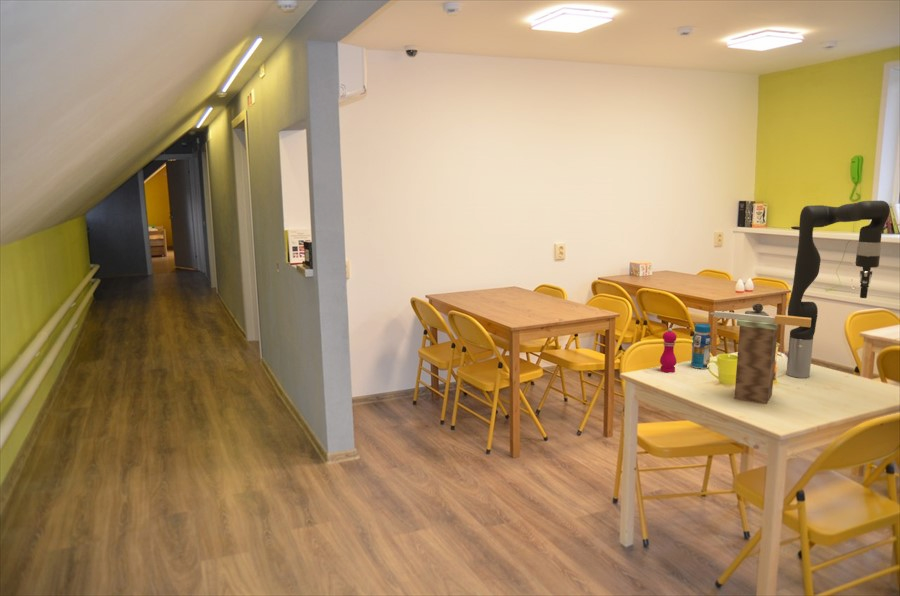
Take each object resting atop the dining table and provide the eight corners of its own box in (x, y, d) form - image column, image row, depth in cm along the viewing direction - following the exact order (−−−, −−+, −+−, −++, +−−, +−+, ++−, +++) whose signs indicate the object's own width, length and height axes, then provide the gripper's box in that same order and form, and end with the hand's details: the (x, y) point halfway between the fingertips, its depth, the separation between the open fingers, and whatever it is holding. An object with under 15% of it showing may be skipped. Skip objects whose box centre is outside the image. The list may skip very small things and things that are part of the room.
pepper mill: (661, 373, 297) (664, 329, 293) (657, 368, 304) (659, 326, 300) (678, 373, 297) (680, 329, 293) (673, 368, 304) (675, 326, 300)
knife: (810, 325, 247) (811, 318, 246) (809, 327, 244) (810, 319, 244) (711, 315, 266) (711, 308, 265) (709, 316, 263) (709, 309, 263)
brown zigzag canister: (775, 394, 267) (781, 317, 261) (769, 405, 255) (776, 324, 249) (738, 388, 275) (743, 313, 269) (731, 398, 262) (737, 320, 256)
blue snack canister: (688, 364, 310) (690, 323, 307) (706, 364, 310) (708, 323, 306) (693, 369, 302) (696, 327, 298) (712, 369, 302) (715, 327, 298)
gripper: (857, 251, 256) (852, 292, 259) (855, 255, 244) (851, 298, 247) (880, 252, 252) (875, 294, 255) (879, 256, 240) (874, 300, 243)
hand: (863, 296), depth 251 cm, fingers open, 8 cm apart
